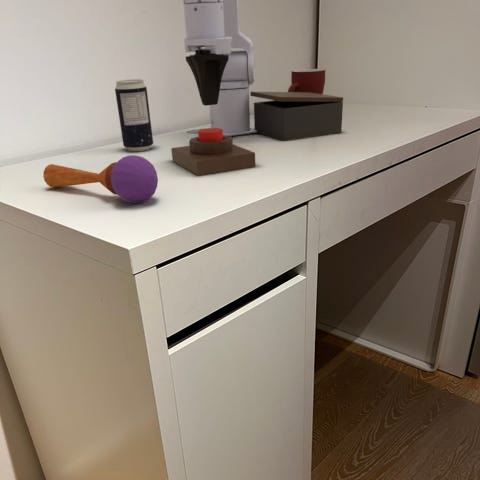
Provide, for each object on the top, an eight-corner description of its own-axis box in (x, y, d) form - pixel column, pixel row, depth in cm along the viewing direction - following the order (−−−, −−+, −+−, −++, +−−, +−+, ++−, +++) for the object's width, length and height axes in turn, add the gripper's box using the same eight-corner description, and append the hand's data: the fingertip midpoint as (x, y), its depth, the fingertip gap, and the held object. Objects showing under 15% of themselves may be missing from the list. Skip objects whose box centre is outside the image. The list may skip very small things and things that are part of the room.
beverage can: (159, 146, 99) (151, 79, 93) (142, 152, 95) (133, 82, 89) (135, 145, 101) (126, 79, 95) (118, 151, 97) (107, 82, 91)
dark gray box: (283, 140, 99) (283, 108, 96) (254, 131, 109) (253, 102, 106) (341, 132, 104) (343, 102, 101) (308, 124, 114) (309, 96, 111)
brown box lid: (280, 101, 95) (280, 96, 95) (250, 95, 105) (250, 91, 105) (343, 101, 101) (343, 97, 101) (309, 96, 111) (309, 92, 111)
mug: (304, 120, 120) (305, 73, 115) (278, 117, 125) (277, 72, 120) (330, 113, 126) (332, 69, 121) (304, 111, 131) (304, 68, 126)
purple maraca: (67, 154, 76) (166, 155, 66) (72, 195, 78) (168, 202, 68) (32, 154, 72) (132, 155, 61) (38, 197, 74) (135, 206, 63)
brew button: (195, 141, 84) (194, 129, 83) (217, 138, 85) (216, 127, 84) (204, 145, 81) (203, 133, 80) (227, 141, 82) (226, 130, 81)
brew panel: (172, 161, 88) (169, 137, 86) (225, 153, 91) (223, 130, 89) (197, 175, 78) (195, 148, 76) (255, 166, 82) (254, 140, 80)
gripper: (249, -1, 69) (252, 107, 76) (211, 5, 81) (216, 97, 87) (200, 1, 67) (208, 111, 74) (168, 6, 78) (177, 101, 85)
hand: (210, 104), depth 80 cm, fingers closed
